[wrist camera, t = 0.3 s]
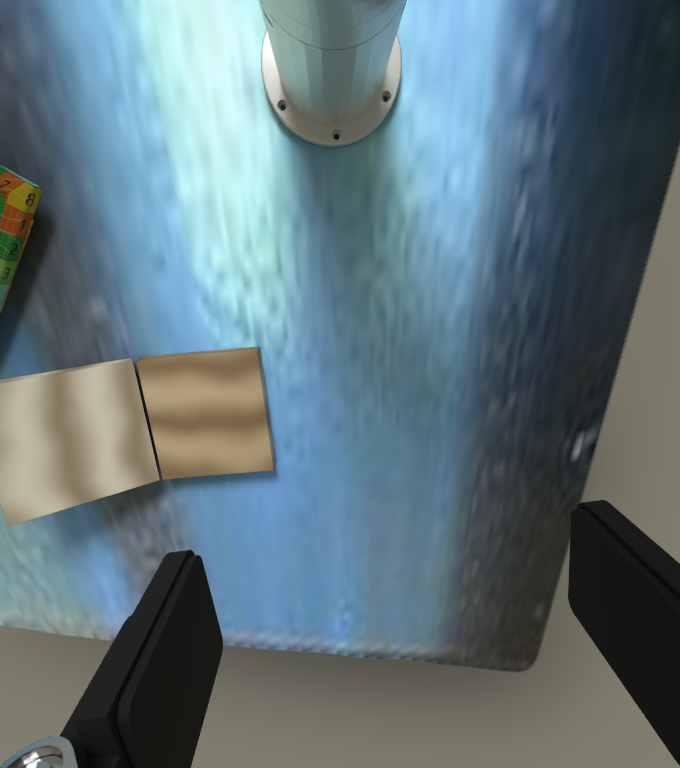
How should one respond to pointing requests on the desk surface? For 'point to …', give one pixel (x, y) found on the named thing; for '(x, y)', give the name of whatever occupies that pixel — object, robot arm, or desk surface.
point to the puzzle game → (14, 223)
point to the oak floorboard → (208, 412)
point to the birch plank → (71, 439)
